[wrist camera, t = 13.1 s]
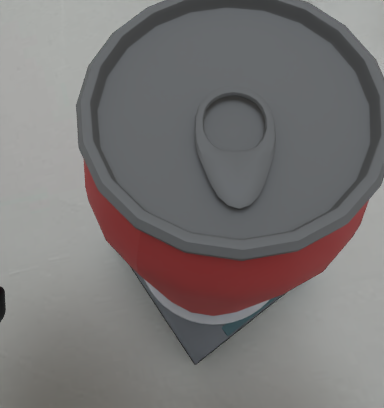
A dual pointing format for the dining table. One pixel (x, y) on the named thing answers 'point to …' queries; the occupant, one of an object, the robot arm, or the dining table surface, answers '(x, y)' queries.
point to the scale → (201, 323)
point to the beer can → (231, 146)
